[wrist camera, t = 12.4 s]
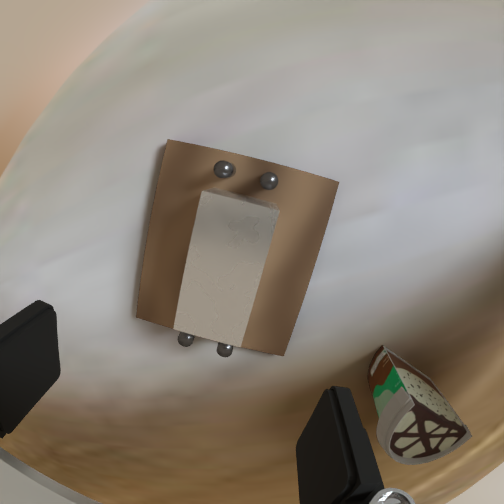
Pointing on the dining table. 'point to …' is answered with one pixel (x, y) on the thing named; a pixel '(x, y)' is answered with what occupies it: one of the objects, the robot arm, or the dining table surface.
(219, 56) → the dining table surface
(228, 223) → the light grey block
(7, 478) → the robot arm
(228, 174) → the tray pins
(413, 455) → the food container
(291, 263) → the tray
